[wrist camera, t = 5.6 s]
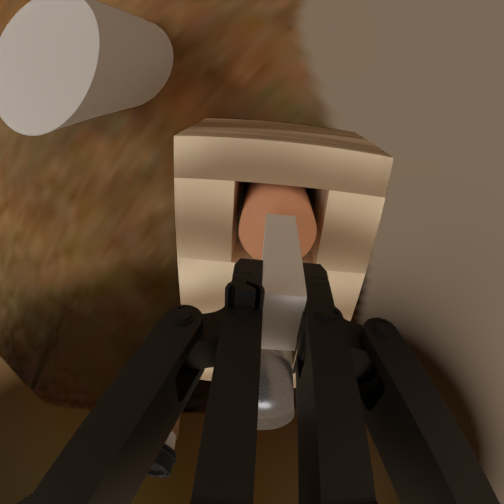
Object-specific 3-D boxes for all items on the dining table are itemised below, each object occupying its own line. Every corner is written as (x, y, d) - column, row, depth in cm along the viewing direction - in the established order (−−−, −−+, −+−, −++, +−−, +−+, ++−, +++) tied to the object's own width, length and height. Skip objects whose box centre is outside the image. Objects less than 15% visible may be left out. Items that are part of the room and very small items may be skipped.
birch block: (206, 117, 24) (173, 135, 16) (354, 132, 23) (393, 157, 16) (205, 312, 34) (189, 378, 26) (316, 321, 33) (324, 388, 26)
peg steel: (238, 298, 25) (224, 393, 17) (294, 303, 25) (300, 398, 17) (236, 337, 27) (224, 426, 19) (286, 341, 27) (288, 431, 19)
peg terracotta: (250, 154, 24) (240, 191, 17) (305, 160, 24) (322, 199, 17) (247, 205, 27) (236, 261, 19) (299, 210, 27) (310, 268, 19)
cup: (128, 3, 18) (43, -29, 8) (193, 55, 21) (131, 36, 11) (72, 74, 21) (-25, 88, 11) (130, 126, 24) (44, 164, 14)
